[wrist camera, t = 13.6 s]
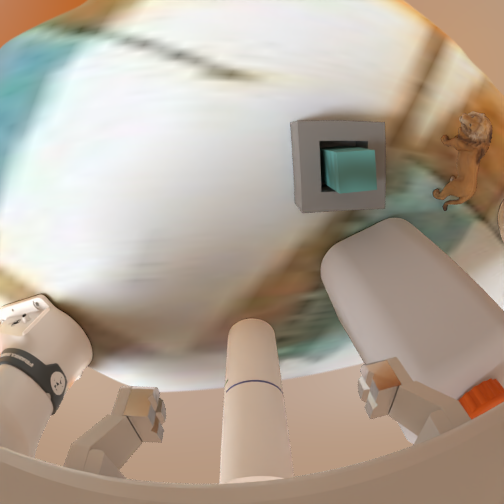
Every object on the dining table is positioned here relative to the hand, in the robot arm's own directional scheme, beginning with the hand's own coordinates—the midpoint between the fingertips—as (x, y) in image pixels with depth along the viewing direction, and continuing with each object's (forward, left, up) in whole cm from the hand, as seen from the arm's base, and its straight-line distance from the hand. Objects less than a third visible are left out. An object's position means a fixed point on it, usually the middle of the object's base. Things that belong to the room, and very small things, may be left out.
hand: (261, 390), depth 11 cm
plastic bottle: (+17, -11, -29) cm, 35 cm away
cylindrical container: (-1, -20, -29) cm, 35 cm away
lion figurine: (+28, +6, -29) cm, 41 cm away
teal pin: (+11, +5, -28) cm, 30 cm away
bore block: (+11, +5, -29) cm, 31 cm away
